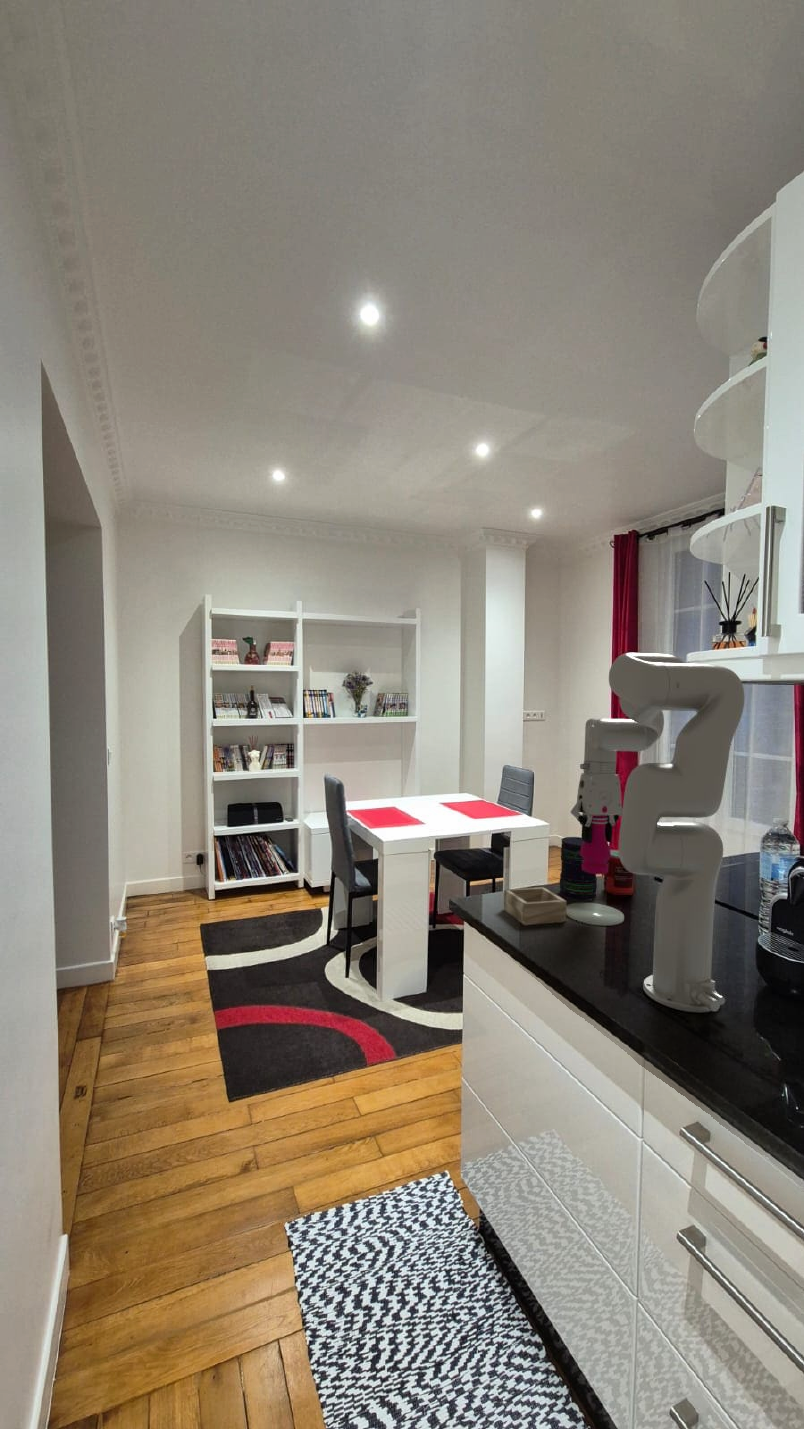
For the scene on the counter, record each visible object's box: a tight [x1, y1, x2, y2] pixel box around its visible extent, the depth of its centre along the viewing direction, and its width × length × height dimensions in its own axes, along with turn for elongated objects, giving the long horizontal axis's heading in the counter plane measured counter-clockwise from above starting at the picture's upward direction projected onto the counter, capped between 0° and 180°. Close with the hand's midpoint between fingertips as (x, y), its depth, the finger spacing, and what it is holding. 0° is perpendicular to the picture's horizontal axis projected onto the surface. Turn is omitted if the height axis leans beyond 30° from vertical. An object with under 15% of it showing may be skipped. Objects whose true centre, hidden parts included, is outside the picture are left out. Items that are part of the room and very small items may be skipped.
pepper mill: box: [580, 806, 611, 875], centre depth 150 cm, size 7×7×20 cm
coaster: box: [566, 902, 625, 927], centre depth 151 cm, size 14×14×1 cm
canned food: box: [603, 849, 635, 896], centre depth 170 cm, size 8×8×11 cm
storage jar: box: [559, 836, 598, 901], centre depth 166 cm, size 10×10×15 cm
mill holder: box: [503, 886, 567, 926], centre depth 149 cm, size 11×11×5 cm
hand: (596, 840), depth 150 cm, fingers closed on pepper mill, 5 cm apart
